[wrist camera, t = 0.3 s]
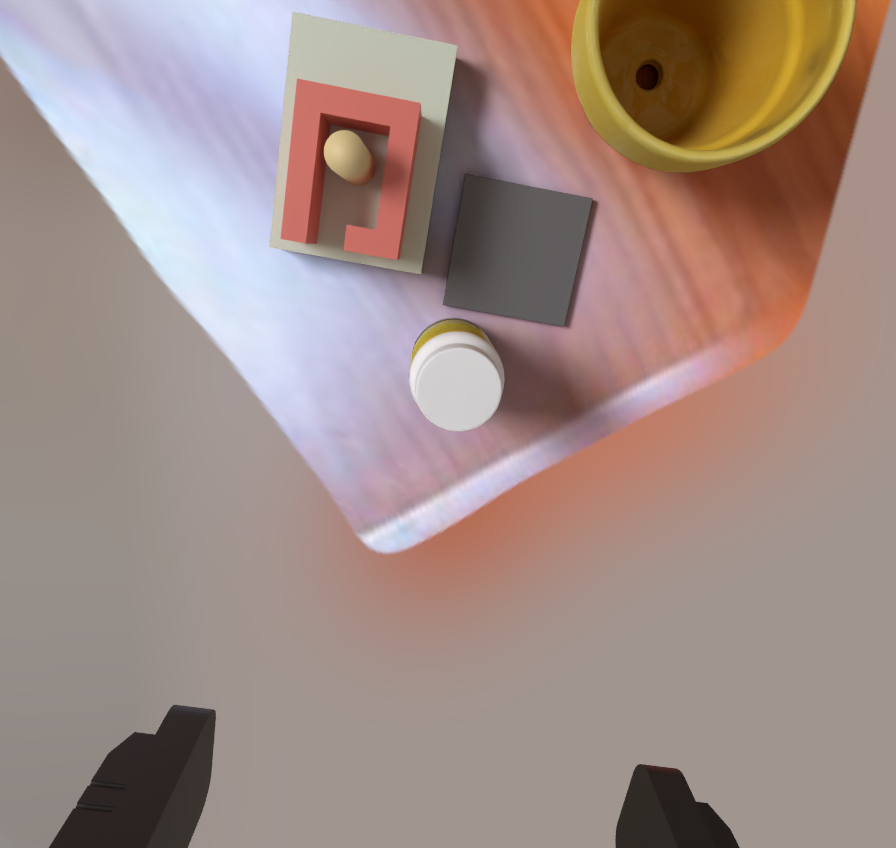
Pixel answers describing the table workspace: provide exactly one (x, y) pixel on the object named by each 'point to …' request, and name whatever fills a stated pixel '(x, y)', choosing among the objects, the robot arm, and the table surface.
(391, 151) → the c link
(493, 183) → the coaster
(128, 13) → the table surface
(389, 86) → the stand
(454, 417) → the supplement bottle
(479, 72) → the table surface
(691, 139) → the plant pot
